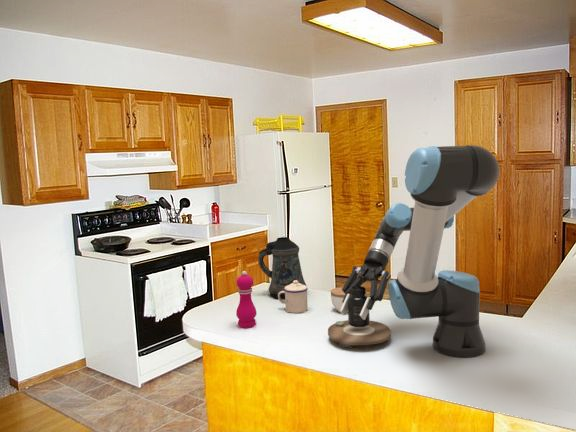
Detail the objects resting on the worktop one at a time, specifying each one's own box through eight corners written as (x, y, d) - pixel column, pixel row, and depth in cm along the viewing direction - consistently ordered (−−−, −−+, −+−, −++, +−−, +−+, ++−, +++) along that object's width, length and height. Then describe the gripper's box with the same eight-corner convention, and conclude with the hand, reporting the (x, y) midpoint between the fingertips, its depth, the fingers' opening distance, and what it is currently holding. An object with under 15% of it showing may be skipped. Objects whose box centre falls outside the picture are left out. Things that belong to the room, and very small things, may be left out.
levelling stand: (402, 336, 162) (402, 324, 161) (368, 357, 147) (368, 343, 146) (351, 324, 175) (350, 313, 174) (315, 341, 160) (315, 329, 160)
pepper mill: (254, 329, 174) (251, 273, 172) (234, 328, 176) (231, 273, 173) (259, 322, 181) (256, 268, 179) (240, 321, 183) (237, 268, 180)
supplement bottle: (373, 323, 160) (373, 287, 159) (361, 329, 156) (361, 292, 154) (356, 319, 165) (355, 284, 164) (344, 324, 160) (343, 288, 159)
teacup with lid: (310, 307, 197) (309, 278, 195) (304, 314, 188) (303, 284, 187) (282, 305, 200) (281, 277, 199) (274, 312, 192) (273, 283, 190)
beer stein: (314, 295, 212) (312, 238, 209) (273, 304, 202) (271, 243, 199) (294, 287, 226) (292, 233, 223) (256, 294, 217) (253, 238, 214)
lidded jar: (325, 311, 190) (324, 287, 189) (341, 304, 198) (340, 281, 197) (349, 316, 183) (348, 292, 182) (364, 309, 192) (364, 285, 190)
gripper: (409, 265, 163) (384, 327, 153) (358, 258, 176) (332, 315, 166) (400, 252, 158) (374, 315, 148) (349, 246, 171) (322, 304, 161)
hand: (352, 315), depth 157 cm, fingers closed on supplement bottle, 7 cm apart
